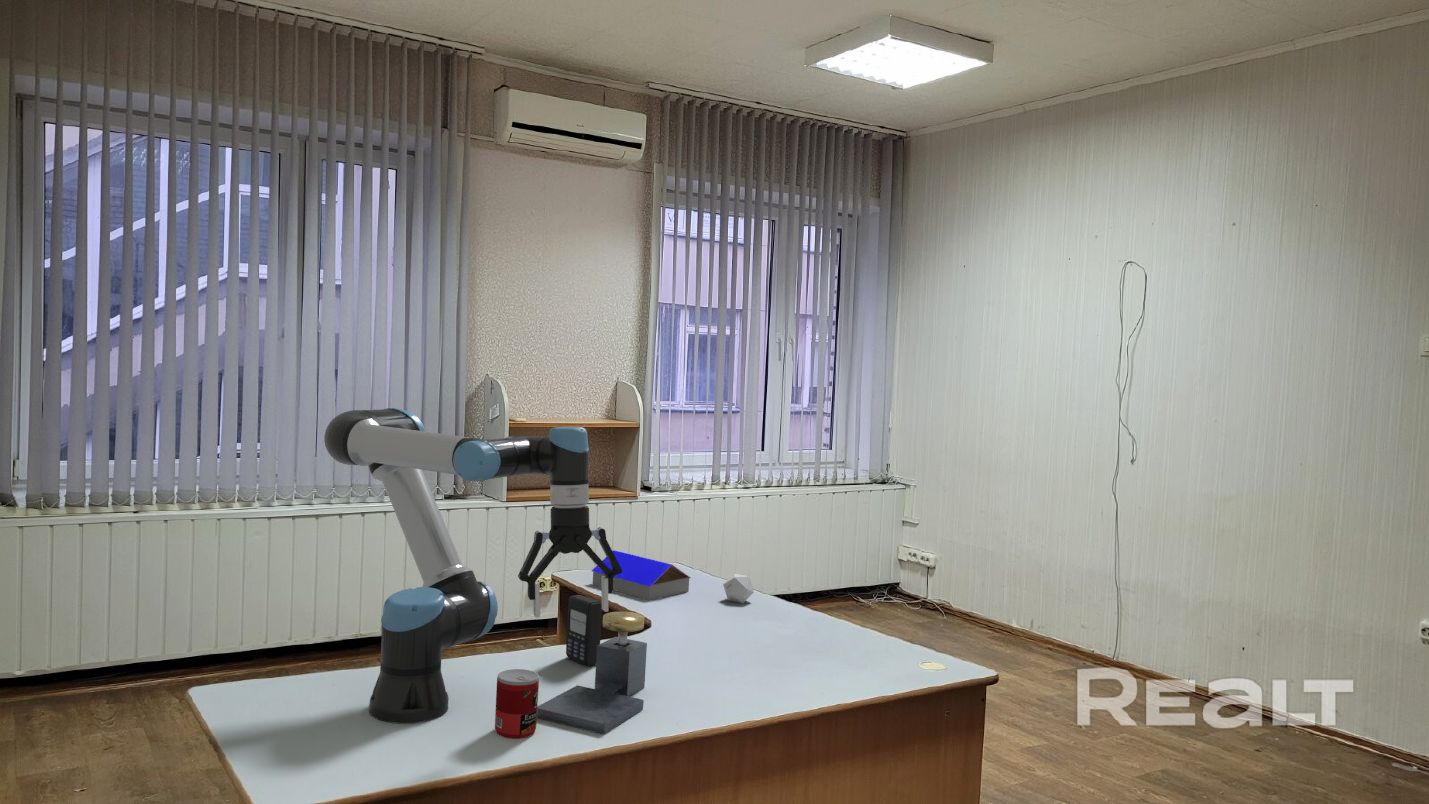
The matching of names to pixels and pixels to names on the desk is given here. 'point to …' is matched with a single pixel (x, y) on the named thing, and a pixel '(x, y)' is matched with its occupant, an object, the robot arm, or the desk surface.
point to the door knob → (623, 624)
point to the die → (738, 588)
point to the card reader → (583, 629)
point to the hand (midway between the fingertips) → (571, 613)
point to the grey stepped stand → (603, 690)
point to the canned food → (516, 703)
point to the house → (644, 577)
